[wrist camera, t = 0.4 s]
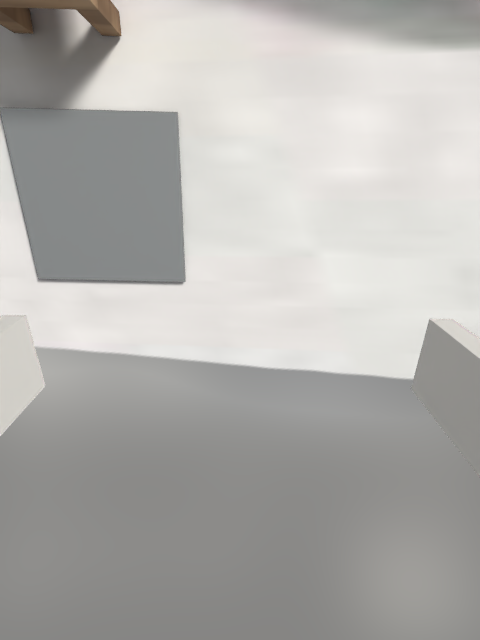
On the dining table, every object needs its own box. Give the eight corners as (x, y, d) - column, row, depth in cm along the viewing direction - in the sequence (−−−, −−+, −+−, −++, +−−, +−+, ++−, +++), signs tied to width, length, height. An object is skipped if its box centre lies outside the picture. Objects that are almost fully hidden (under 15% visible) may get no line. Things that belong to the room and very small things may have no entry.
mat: (2, 108, 31) (-1, 107, 30) (177, 112, 31) (177, 112, 30) (40, 277, 37) (38, 278, 37) (185, 280, 37) (184, 282, 37)
